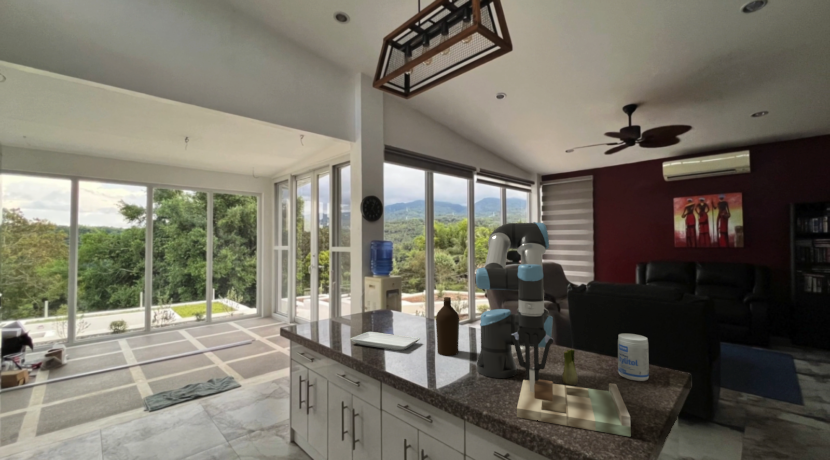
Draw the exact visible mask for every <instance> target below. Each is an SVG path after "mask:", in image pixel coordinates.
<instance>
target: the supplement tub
mask: <svg viewBox="0 0 830 460" xmlns="http://www.w3.org/2000/svg"><path fill="white" fill-rule="evenodd" d="M649 362H650V361H649V339H648V337H646V336H644V335H641V334H635V333H619V334H618V339H617V363H618V364H617V369H618V374H619V375H620V376H621V377H622V378H624V379H627V380H631V381H638V382H645V381H647V380H648V379H649V377H650V368H649V366H650V365H649V364H650V363H649Z"/></svg>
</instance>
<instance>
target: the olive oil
mask: <svg viewBox="0 0 830 460" xmlns="http://www.w3.org/2000/svg"><path fill="white" fill-rule="evenodd" d="M451 299H452V298H451V296H444V297H443V306H442V307H441V308H440V309H439V310H438V312H436V316H435V326H436V345H437V354H438V355H441V356H446V357H450V356H452V357H453V356H456V355H458V354H459V340H460V339H459V334H460V316H459V314H458V311H456V310H455V308H454V307H453V306H452V300H451Z"/></svg>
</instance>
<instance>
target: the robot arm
mask: <svg viewBox="0 0 830 460" xmlns="http://www.w3.org/2000/svg"><path fill="white" fill-rule="evenodd" d="M487 245H488V251H487V255H486V260H485V262H484V267H479V268H477V269H476V271H475V273H476V274H475V283H476V288H478V289H480V290H488V291H489V290H492V291H493V290H494V291H495V290H497V291H499V290H500V291H503V290H504V291H518V308H517V309H516V313H512V310H511V309H508V308H507V309H506V308H496V309H490V310H486V311H484V312H482V313H481V314H480V324H479V326H480V352H479V356H478V357H477V361H476V372H477V373H479V374H480V375H483V376H485V377H488V378H496V379H505V378H506V379H507V378H512V377H513V376H516V375H517V373H518V371H517V369H518V368H517V367H518V366H517V363H516V361H515V358H514V356H513V350H512V349H513V348H512V346H514V349H515V354H516V356H517V360H518V365H519V366H520V367H522V368H524V369H525V380H529V381H530V392H534V384H535V381H538V380H539V379H540V371H541V370H545V367H546V364H547V360H548V357H549V356H548V355H549V352H550V347H551V346H552V344H553V343H554V338H553V336H552V330H553V323H554V321H553V319H554V317H553V316H552V315H550V314H549V310H548V309H547V308H546V307H545V298H544V297H545V296H544V295H545V294H544V293H545V292H544V270H543V255H545V253H546V251H547V249H549V248H550V241H549V233H548V228H547V226H546V224H545V223H544V222H535V221H533V222H508V223H504V224H502V225H500V226H498V227H496V228H495V229H494V230H493V231H492V232H491V234H490V235H489V237H488V241H487ZM510 249H511V250H516V251H517V254H518V255H520V264H519V265H518V267H517V268H508V267H507V268H506V266H507V265H506V264H507V256H508V250H510ZM521 347H524V351H525V352H524V354H525V355H524V356H523V352H522V349H521ZM531 348H533V367H531ZM539 348H541V349H542V348H544V349H543V354H542V358H541V362H539V361H540V359H539V358H540V357H539V355H540V354H539V351H540V349H539ZM524 358H525V359H524Z"/></svg>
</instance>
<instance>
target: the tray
mask: <svg viewBox="0 0 830 460" xmlns="http://www.w3.org/2000/svg"><path fill="white" fill-rule="evenodd" d="M349 340H350V341H352V342H353V343H355V344H357V345H360V346H366V347H374V348H380V349H387V350H393V351H402V352H403V351H404V350H406V349H408V348H410V347H412V346H413V345H414V344H416V343H417V342H418V341H420V340H421V338H419V337H415V336H408V335H407V336H406V335H398V334H389V333H382V332H377V331H367V332H363V333H361V334H358V335H354V336H353V337H351V338H349Z"/></svg>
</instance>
